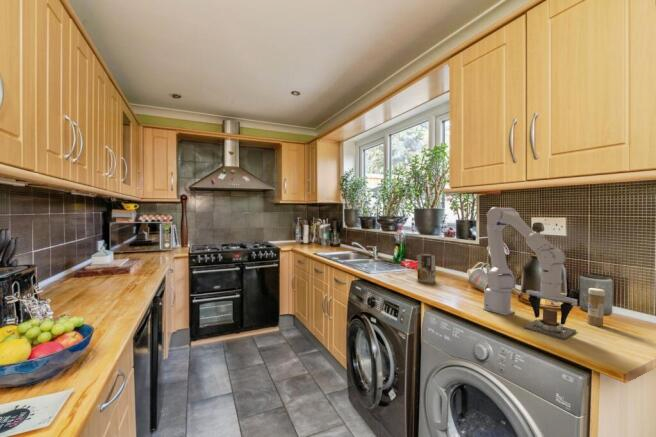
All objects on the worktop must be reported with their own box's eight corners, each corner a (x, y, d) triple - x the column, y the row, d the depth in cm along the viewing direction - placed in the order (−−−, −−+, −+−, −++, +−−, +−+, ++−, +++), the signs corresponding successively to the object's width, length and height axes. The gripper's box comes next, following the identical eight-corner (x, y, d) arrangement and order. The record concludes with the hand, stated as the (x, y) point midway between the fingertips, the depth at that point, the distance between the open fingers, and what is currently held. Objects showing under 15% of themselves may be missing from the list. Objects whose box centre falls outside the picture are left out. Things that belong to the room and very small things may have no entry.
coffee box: (435, 281, 174) (436, 255, 174) (431, 283, 169) (431, 256, 169) (421, 279, 180) (422, 253, 180) (416, 280, 176) (417, 254, 175)
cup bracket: (523, 327, 104) (523, 321, 104) (536, 321, 111) (536, 314, 111) (564, 340, 94) (564, 332, 94) (576, 331, 101) (576, 324, 101)
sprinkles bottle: (583, 322, 110) (585, 287, 110) (594, 322, 111) (595, 287, 111) (596, 327, 106) (597, 290, 106) (607, 326, 106) (608, 290, 106)
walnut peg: (540, 329, 103) (541, 309, 103) (544, 326, 106) (545, 307, 105) (554, 333, 100) (554, 313, 100) (558, 330, 102) (558, 310, 102)
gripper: (580, 285, 99) (579, 324, 99) (531, 277, 111) (530, 312, 111) (574, 288, 95) (572, 329, 95) (524, 279, 107) (523, 315, 107)
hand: (549, 320), depth 103 cm, fingers open, 7 cm apart
